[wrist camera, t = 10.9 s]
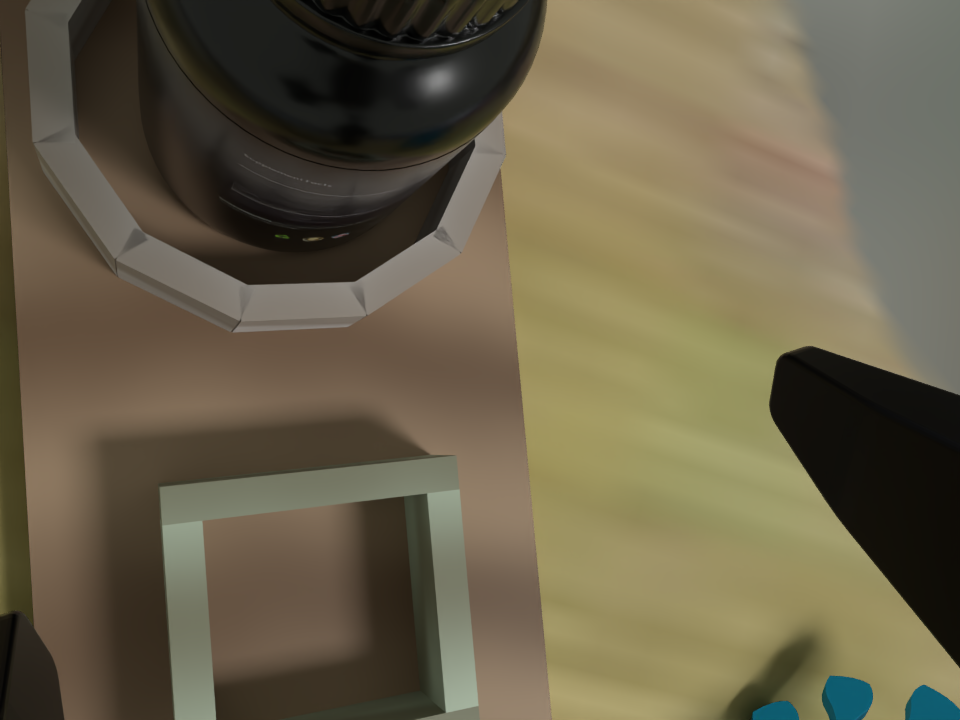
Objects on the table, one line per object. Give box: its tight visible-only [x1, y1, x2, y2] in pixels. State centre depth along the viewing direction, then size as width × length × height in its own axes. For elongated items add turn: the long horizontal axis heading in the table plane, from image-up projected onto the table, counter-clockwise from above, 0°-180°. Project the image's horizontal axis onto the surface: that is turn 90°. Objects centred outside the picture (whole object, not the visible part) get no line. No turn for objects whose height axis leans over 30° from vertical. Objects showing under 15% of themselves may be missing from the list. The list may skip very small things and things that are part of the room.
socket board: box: [0, 0, 552, 720], centre depth 21 cm, size 24×12×3 cm, turn 6°
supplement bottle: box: [136, 0, 547, 252], centre depth 16 cm, size 7×7×12 cm
